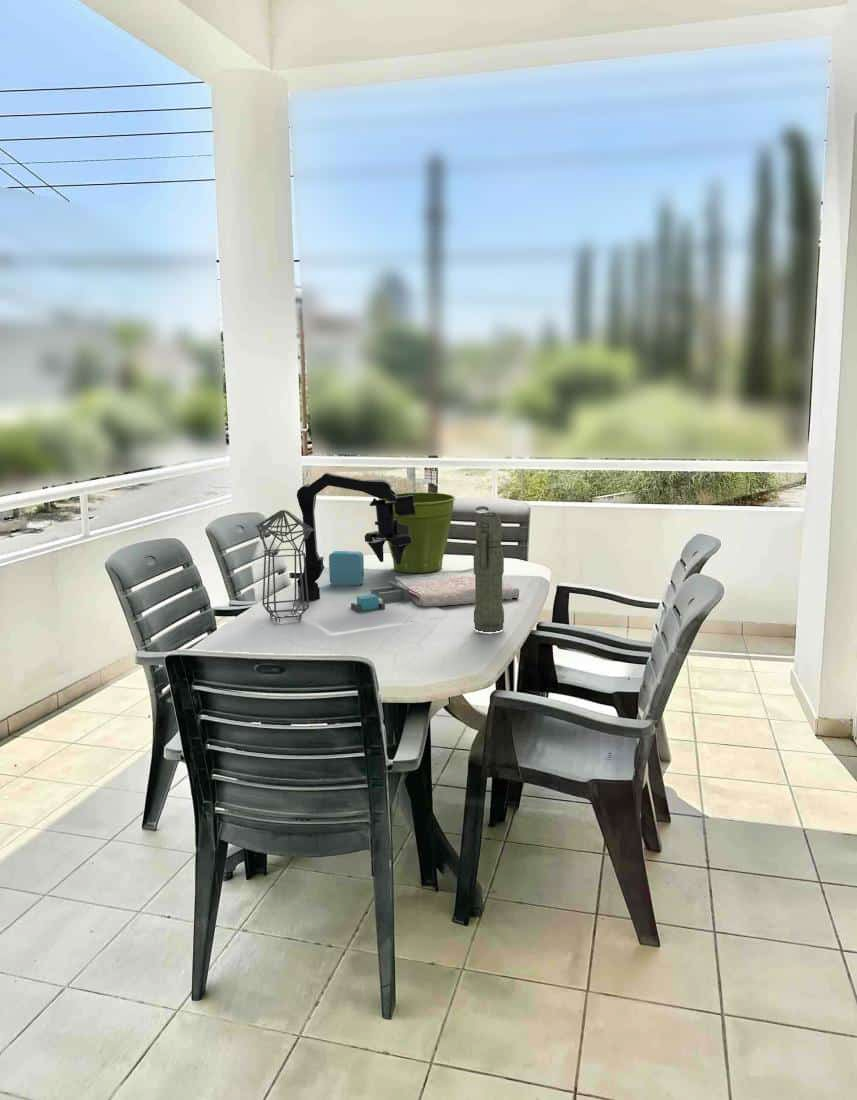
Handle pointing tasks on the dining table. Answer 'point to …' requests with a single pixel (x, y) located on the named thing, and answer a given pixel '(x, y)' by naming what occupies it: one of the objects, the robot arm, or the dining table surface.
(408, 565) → the plant pot
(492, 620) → the flashlight
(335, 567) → the data package
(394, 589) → the socket
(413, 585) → the towel
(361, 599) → the plug
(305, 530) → the geometric lantern
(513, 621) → the dining table surface
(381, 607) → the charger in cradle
